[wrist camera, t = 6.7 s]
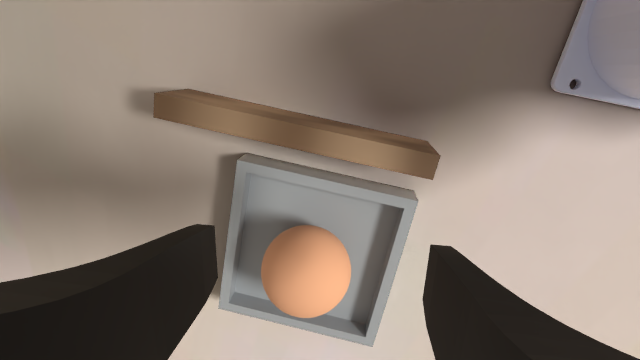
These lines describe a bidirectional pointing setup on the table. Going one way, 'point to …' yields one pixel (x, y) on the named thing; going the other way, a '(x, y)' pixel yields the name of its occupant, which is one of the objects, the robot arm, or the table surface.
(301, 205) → the dish
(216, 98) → the rail
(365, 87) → the table surface
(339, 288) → the ball
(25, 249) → the table surface
